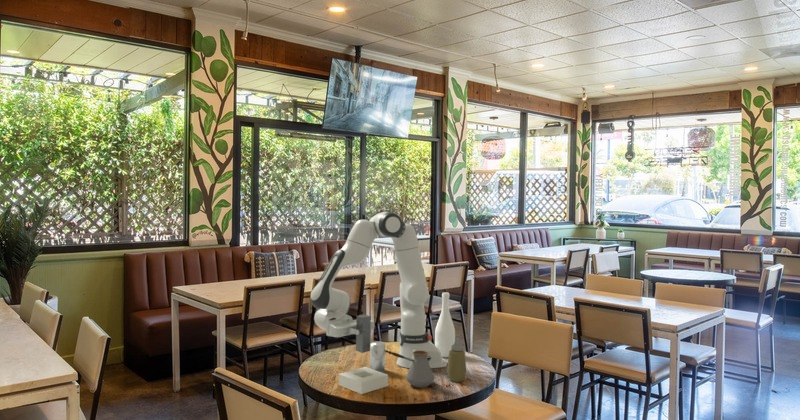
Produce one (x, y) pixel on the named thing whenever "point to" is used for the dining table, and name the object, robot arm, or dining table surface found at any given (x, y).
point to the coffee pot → (418, 369)
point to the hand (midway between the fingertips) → (364, 331)
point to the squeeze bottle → (456, 362)
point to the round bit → (377, 356)
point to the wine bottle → (445, 328)
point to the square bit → (363, 333)
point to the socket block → (363, 380)
